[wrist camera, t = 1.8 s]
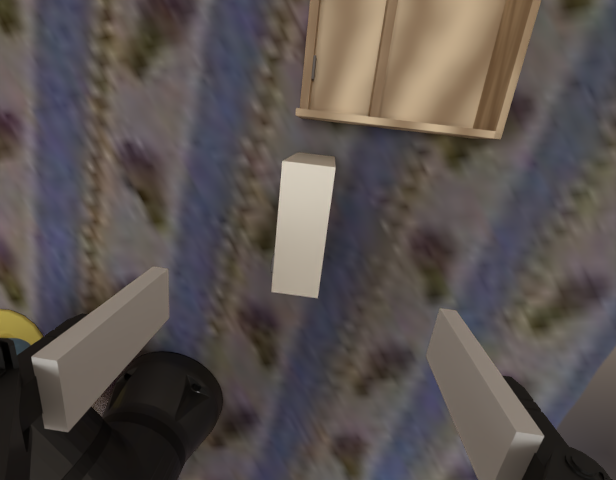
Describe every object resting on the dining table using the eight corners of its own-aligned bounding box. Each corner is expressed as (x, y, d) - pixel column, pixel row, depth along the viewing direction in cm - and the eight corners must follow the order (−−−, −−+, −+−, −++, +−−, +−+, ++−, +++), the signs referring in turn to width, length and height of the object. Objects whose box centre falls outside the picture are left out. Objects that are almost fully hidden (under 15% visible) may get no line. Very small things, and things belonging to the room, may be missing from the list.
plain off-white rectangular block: (286, 245, 39) (267, 291, 27) (295, 151, 35) (278, 160, 24) (321, 249, 39) (317, 298, 27) (334, 156, 35) (335, 167, 24)
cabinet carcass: (301, 118, 34) (295, 115, 28) (320, -70, 29) (317, -120, 23) (472, 138, 34) (500, 139, 28) (521, -50, 28) (568, -96, 23)
